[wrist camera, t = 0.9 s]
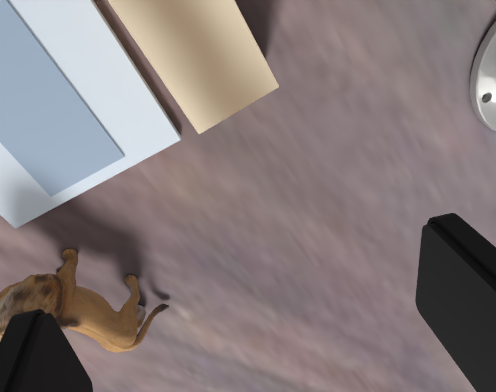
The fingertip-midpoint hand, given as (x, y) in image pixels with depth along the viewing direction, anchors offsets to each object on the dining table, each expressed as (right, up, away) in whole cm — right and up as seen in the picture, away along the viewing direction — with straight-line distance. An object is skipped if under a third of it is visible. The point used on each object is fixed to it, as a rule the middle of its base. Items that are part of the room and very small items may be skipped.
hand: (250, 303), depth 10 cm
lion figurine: (-15, -5, +28) cm, 32 cm away
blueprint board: (-16, +10, +19) cm, 27 cm away
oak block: (-5, +16, +17) cm, 24 cm away
